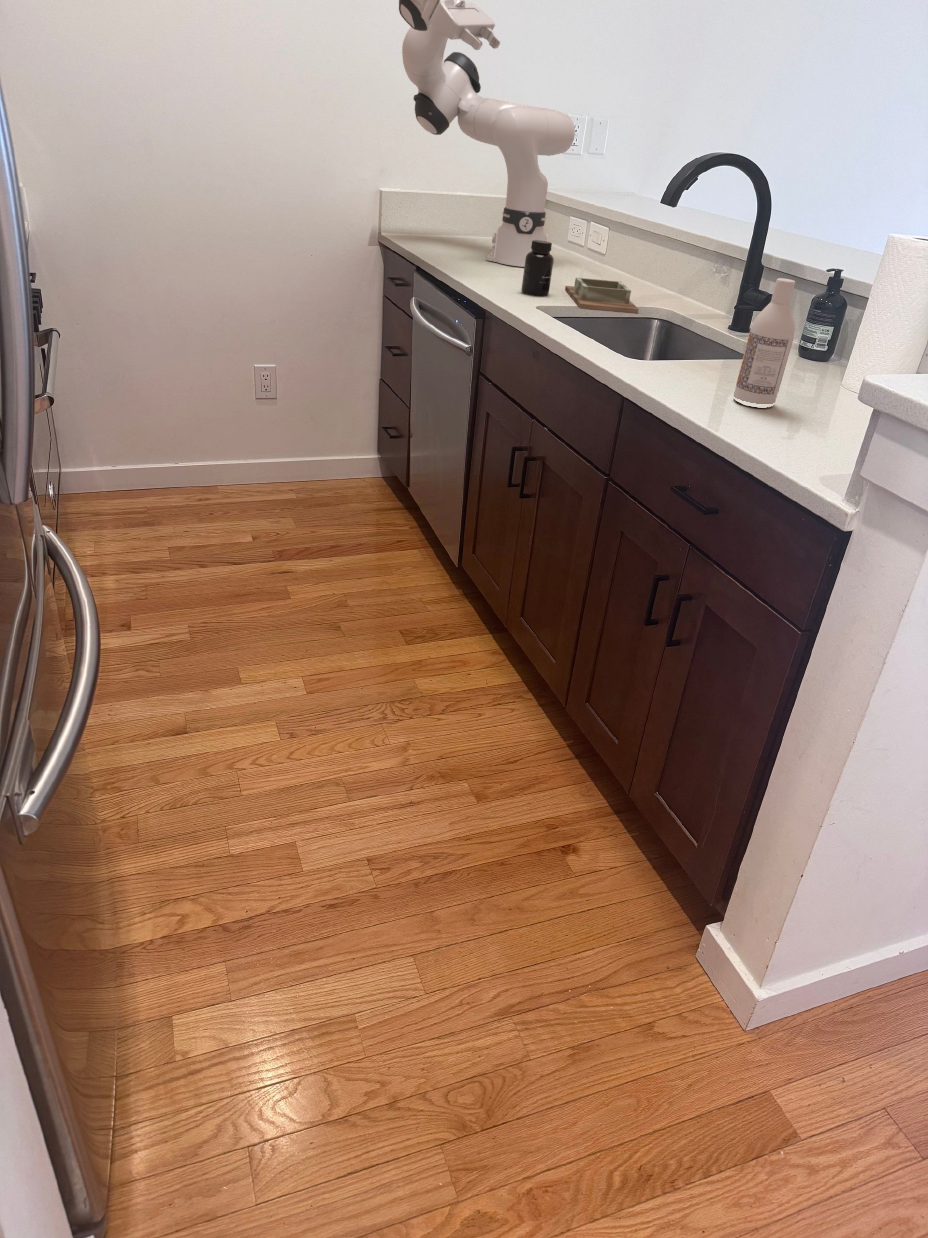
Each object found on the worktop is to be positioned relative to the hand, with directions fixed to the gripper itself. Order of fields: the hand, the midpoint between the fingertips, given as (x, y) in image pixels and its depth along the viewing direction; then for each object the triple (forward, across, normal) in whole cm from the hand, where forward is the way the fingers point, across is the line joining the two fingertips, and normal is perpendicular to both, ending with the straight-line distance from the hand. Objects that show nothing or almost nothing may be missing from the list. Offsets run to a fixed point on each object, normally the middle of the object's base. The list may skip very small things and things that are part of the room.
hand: (488, 46), depth 202 cm
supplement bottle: (+45, +11, -30) cm, 55 cm away
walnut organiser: (+58, +5, -22) cm, 62 cm away
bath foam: (+96, +67, +10) cm, 118 cm away
